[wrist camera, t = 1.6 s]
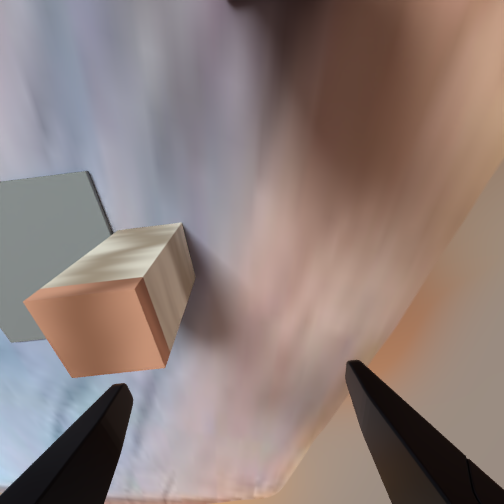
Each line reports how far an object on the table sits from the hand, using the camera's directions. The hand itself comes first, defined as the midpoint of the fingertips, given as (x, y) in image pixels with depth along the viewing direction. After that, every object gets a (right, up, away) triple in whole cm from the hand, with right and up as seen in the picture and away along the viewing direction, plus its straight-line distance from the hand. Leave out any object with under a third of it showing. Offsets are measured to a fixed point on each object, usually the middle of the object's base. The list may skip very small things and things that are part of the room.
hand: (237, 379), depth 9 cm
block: (-7, +4, +11) cm, 14 cm away
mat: (-17, +3, +11) cm, 20 cm away
